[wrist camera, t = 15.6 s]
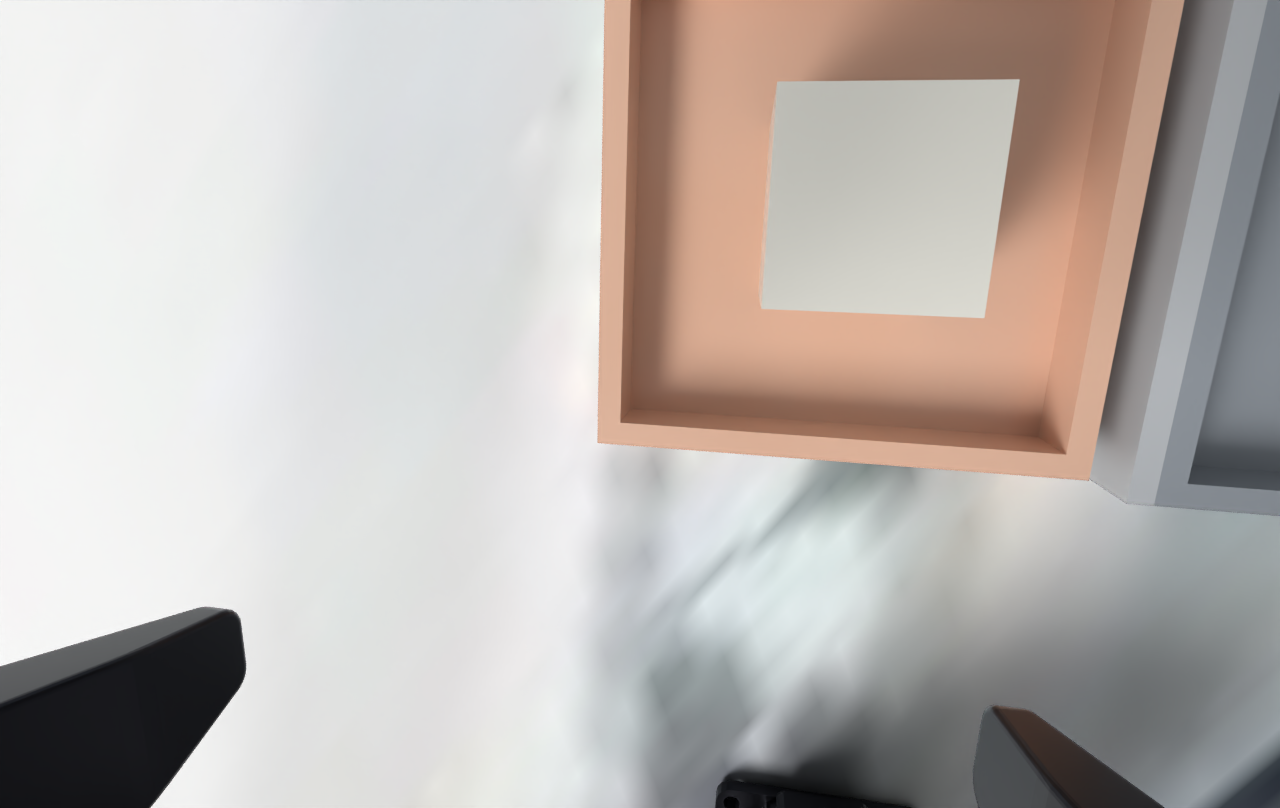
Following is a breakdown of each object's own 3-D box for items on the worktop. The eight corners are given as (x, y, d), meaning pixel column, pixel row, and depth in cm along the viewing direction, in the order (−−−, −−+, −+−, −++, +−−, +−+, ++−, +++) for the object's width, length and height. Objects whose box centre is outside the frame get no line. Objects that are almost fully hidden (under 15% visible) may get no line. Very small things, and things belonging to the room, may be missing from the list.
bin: (1048, 453, 18) (1089, 480, 16) (614, 422, 20) (597, 442, 18) (1140, -49, 15) (1203, -97, 13) (623, -32, 17) (605, -72, 15)
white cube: (924, 301, 17) (984, 318, 13) (758, 294, 18) (761, 309, 13) (946, 125, 16) (1019, 79, 12) (770, 125, 17) (777, 81, 12)
